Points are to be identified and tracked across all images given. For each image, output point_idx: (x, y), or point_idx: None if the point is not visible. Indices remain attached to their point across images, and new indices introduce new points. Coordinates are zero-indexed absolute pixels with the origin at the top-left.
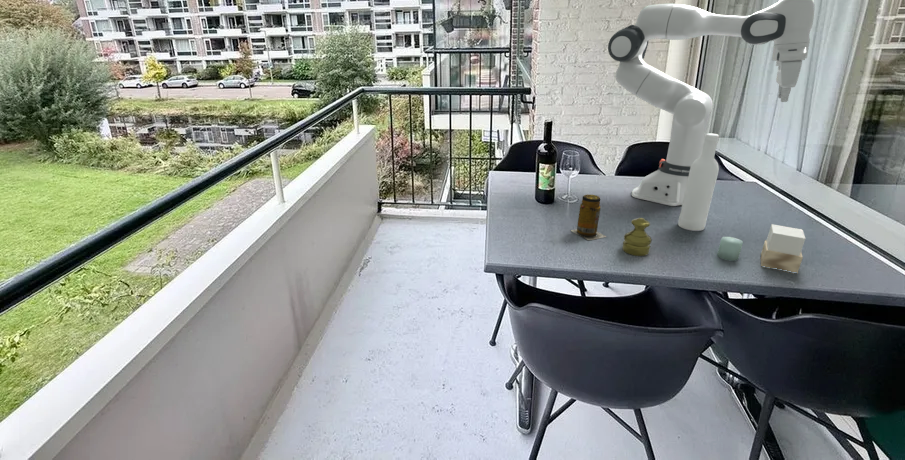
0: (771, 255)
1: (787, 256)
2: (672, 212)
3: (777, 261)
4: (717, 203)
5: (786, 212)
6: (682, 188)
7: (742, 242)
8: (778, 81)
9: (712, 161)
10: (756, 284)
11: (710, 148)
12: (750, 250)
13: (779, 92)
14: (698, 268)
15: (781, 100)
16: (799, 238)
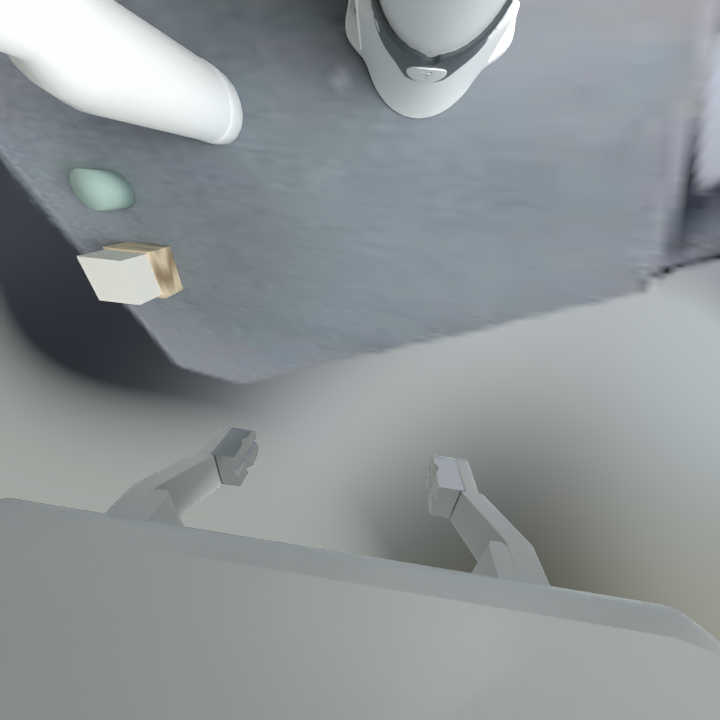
0: None
1: None
2: (291, 38)
3: None
4: (428, 187)
5: (414, 322)
6: (365, 32)
7: (97, 210)
8: (312, 589)
9: (12, 59)
10: (59, 226)
11: None
12: (177, 233)
13: (464, 493)
14: (19, 129)
15: (219, 431)
16: (96, 292)
